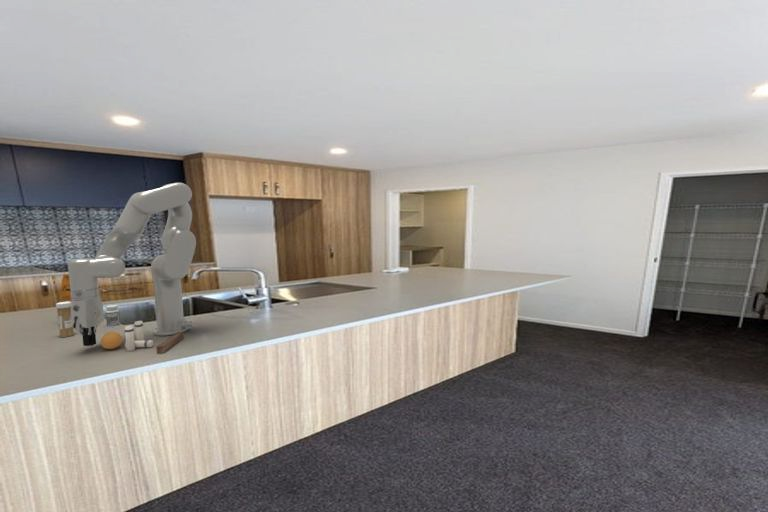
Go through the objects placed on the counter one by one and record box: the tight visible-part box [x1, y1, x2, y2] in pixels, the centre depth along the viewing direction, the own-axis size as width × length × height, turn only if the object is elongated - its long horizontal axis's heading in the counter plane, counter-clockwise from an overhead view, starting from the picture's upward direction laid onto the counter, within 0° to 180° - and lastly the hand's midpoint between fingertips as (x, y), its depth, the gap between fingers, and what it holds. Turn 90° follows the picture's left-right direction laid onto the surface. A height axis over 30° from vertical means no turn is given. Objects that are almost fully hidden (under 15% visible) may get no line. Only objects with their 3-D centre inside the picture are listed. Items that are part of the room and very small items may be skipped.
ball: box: [100, 331, 123, 350], centre depth 127 cm, size 6×6×6 cm
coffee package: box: [59, 273, 72, 303], centre depth 162 cm, size 10×12×22 cm
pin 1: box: [124, 324, 136, 352], centre depth 125 cm, size 3×3×8 cm
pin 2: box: [133, 320, 145, 341], centre depth 131 cm, size 3×3×8 cm
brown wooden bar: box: [156, 332, 184, 354], centre depth 130 cm, size 2×16×2 cm, turn 7°
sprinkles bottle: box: [55, 301, 75, 338], centre depth 142 cm, size 5×5×13 cm
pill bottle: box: [105, 304, 121, 327], centre depth 157 cm, size 5×5×8 cm
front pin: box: [124, 339, 154, 349], centre depth 128 cm, size 3×3×8 cm
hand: (89, 344), depth 127 cm, fingers closed
